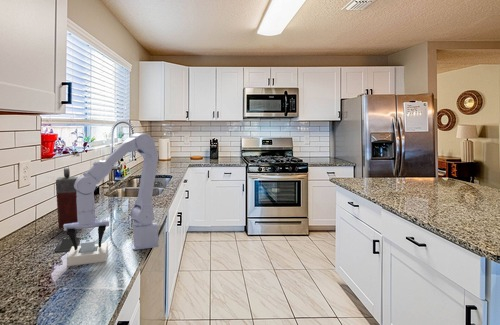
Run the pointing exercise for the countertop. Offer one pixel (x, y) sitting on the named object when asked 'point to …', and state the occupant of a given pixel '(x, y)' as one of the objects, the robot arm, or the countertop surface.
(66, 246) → the phone
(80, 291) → the countertop surface
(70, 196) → the dark red french press
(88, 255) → the block
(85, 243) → the block
